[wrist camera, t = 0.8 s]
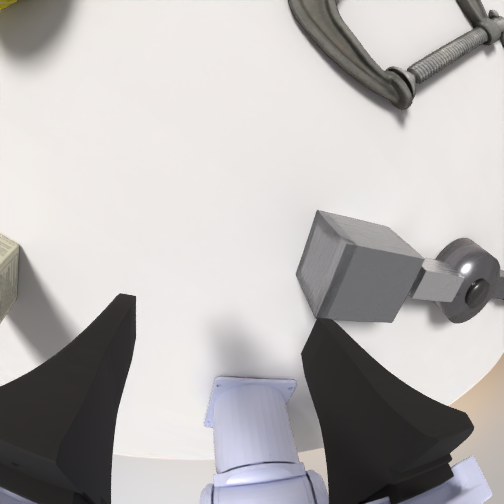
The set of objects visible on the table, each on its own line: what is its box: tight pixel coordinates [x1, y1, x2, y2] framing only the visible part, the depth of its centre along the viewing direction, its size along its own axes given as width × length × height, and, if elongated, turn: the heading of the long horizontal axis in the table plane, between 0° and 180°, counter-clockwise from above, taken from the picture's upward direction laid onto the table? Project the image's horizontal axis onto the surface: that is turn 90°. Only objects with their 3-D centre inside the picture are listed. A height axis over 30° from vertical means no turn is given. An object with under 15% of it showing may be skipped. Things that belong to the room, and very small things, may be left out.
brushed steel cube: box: [296, 210, 425, 323], centre depth 19 cm, size 6×5×5 cm
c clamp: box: [288, 0, 504, 110], centre depth 13 cm, size 20×17×3 cm
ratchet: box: [408, 238, 504, 323], centre depth 23 cm, size 25×7×4 cm, turn 77°
